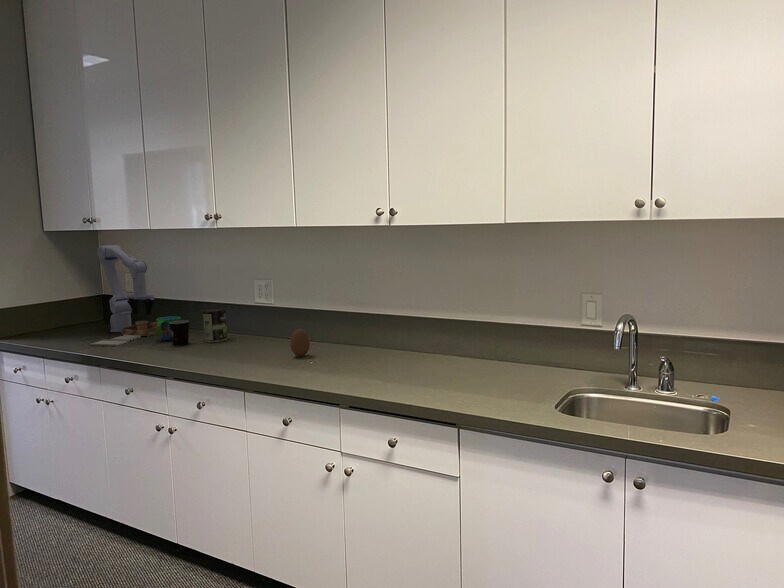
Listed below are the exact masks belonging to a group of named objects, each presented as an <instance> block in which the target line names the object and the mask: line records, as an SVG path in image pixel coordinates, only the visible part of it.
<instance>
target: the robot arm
mask: <svg viewBox="0 0 784 588" xmlns="http://www.w3.org/2000/svg"><path fill="white" fill-rule="evenodd" d="M96 252H97V253H96V255H97V257H98V261H99V262H100V263H99V264H101V265H102V267H103V270H104V274H105V276H106V279H107V281H108V285H109V289H110V291H111V295H112V297H111V298H110V299H109V309H110V311H111V315H110V319H109V321H110V323H109V324H110V331H109V332H110V333H111V332H112V333H121V329H122V328H125V327H129V326H132V317H131V316H132V315H131V314H132V313H133V315H137V314H138V306H139V305H138V304H139V300H141V301H142V303H143V304H144V308H145V314H146V315H147V316H148V315H151V313H152V308H153V305H154V303H155V295H152V294H151V295H150V294H148V292H147V281H146V273H147V272H148V271H147V270H148V265H147V263H146V262H145V261H144V260H141V261H140V260H138V258H135V257H134V256H133V255H132V254H127V253H126V252H124V251H123V249H122V247H121V246H120V244H111V245H110V244H109V245H99V246H98V248H97V251H96ZM119 260H120V261H121V263H122V265H123V266H125V267H126V268H127V269H128V270H129V273H130V276H131V278H132V288H133V294H126V293H125V292H124V290H123V287H122V284H121V281H120V278H119V275H118V272H117V269H116V266H115V264H116V263H118V262H119Z"/></svg>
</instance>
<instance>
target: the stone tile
mask: <svg viewBox="0 0 784 588" xmlns="http://www.w3.org/2000/svg"><path fill="white" fill-rule="evenodd" d="M140 337H141V336H138V335H123V336H121V335H120V336H116V337H113V338H110V340H129V342H131V341H134V340H137V338H138V339H141V338H142V337H141V338H140ZM133 339H134V340H133ZM130 340H131V341H130Z"/></svg>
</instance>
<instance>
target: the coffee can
mask: <svg viewBox="0 0 784 588" xmlns="http://www.w3.org/2000/svg"><path fill="white" fill-rule="evenodd" d="M226 310H227V309H226V308H222V307H215V308H214V307H212V308H205V309H202V310H201V313H202V325H203V336H204V337H203V338H204V339H203V340H204V342H205V343H220V341H221V342H225V341H227V340H228V330H227V317H226V316H227V315H226V314H227V313H226ZM224 340H225V341H224Z"/></svg>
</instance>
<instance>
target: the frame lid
mask: <svg viewBox="0 0 784 588" xmlns="http://www.w3.org/2000/svg"><path fill="white" fill-rule="evenodd" d="M129 342H130V341H129V340H111V339H101V340H100V341H96V342H93V343H92V342H91V343H88V346H89V347H113V346H116V347H118V345H119V346H121V344H122V345H124V343H125V344H128V343H129Z"/></svg>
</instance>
